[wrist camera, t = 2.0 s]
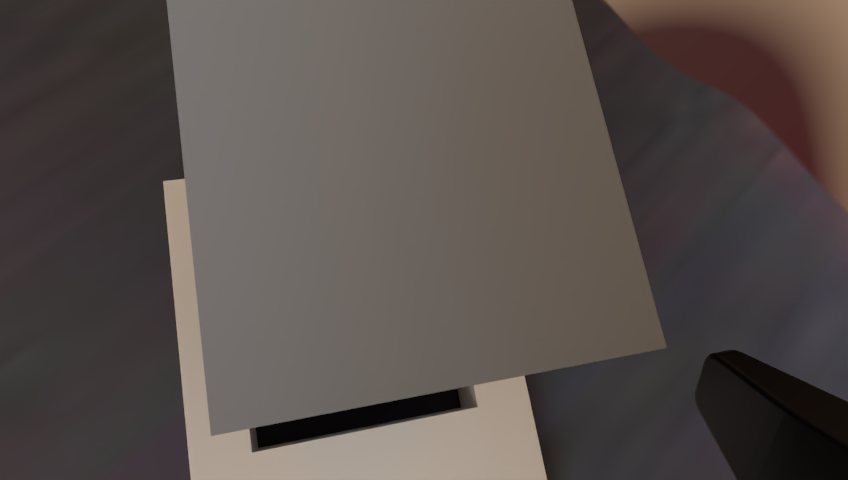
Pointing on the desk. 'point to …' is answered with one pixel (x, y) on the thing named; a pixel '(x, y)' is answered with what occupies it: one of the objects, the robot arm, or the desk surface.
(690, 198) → the desk surface
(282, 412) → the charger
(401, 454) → the power strip
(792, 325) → the desk surface
